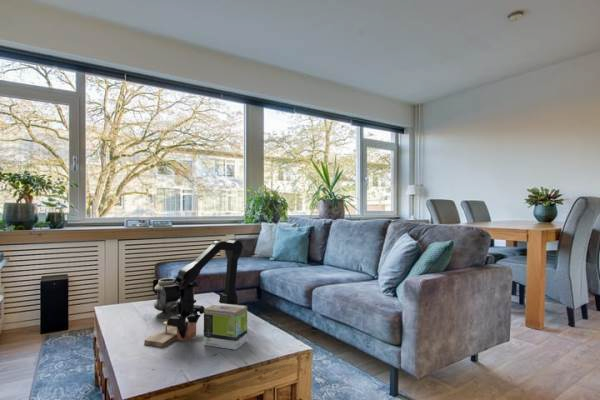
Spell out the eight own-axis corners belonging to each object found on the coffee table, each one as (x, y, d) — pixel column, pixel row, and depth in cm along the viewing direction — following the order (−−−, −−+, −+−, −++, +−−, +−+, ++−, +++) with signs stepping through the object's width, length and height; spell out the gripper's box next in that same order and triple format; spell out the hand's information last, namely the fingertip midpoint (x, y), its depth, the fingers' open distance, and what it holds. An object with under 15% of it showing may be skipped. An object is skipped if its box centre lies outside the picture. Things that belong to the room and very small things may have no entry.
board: (194, 328, 152) (194, 324, 152) (163, 347, 132) (163, 342, 132) (177, 326, 155) (177, 322, 155) (144, 344, 135) (144, 339, 135)
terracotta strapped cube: (196, 336, 143) (196, 322, 143) (189, 341, 138) (189, 326, 138) (167, 333, 147) (168, 319, 147) (160, 337, 142) (160, 323, 142)
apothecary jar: (184, 314, 171) (184, 278, 172) (163, 321, 161) (164, 283, 161) (169, 309, 178) (169, 276, 178) (148, 316, 168) (149, 280, 168)
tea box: (248, 340, 139) (248, 305, 139) (235, 351, 130) (235, 312, 130) (216, 336, 144) (216, 301, 144) (202, 345, 134) (202, 308, 135)
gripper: (184, 291, 153) (183, 325, 153) (155, 303, 135) (155, 342, 135) (205, 293, 150) (205, 328, 149) (179, 305, 132) (179, 345, 132)
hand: (186, 335), depth 141 cm, fingers closed on terracotta strapped cube, 5 cm apart
